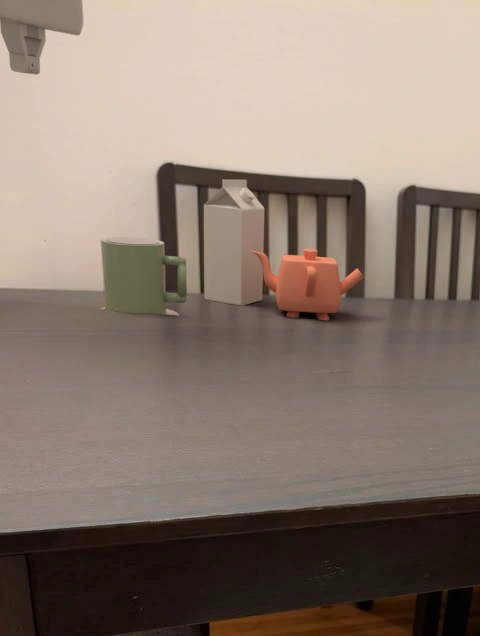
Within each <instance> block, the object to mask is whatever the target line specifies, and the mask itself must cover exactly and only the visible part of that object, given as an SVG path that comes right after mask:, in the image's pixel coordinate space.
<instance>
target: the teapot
mask: <svg viewBox="0 0 480 636" xmlns="http://www.w3.org/2000/svg"><path fill="white" fill-rule="evenodd" d="M252 252H253V253H254V254H256V255H257V256H258V258H259V259H260V261H261V264H262V268H263V280H264V282H265V285H266V286H267V288H268V289H269V290H270V291H272V292H273V293H274V296H275V300H276V305H277V308H278V309H279V310H281V311H285V312H287V313H286V314H285V316H286V317H287V318H299V316H300V313H315V315H316V319H317V320H319V321H329V320H330V317H329V314H336V313H338V311H339V309H340V306H341V303H342V302H341V301H342V296H343V295H344V294H345V293H347V292H348V291H349V290H350V289H352V288H353V287H354V286H356V285H357V284H358V283H359V282H361V281H362V280H363V279H365V276H364V274H363V273H362V271H360V269H359V267H357V268H356V269H354V270H353V271H352V272H351V273H350V274H348V275H347V276H346V277H345V278H344V279H342V280H341V277H340V271H339V266H338V265H339V264H338V262H337V260H336V259H335V258H334V257H327V256H326V257H324V256H318V250H317V249H313V248H304V249H302V254H303V255H298V254H283V255H282V258H281V260H280V264H279V268H278V273H277V275H275V274H274V273H273V271H272V269H271V264H270V260H269V258H268V255H267V254H265V253H264V252H263V253H261V252H257V251H252Z"/></svg>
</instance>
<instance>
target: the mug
mask: <svg viewBox="0 0 480 636" xmlns="http://www.w3.org/2000/svg"><path fill="white" fill-rule="evenodd" d="M165 251H166V250H165V242H164V241H162V240H159V239H153V238H145V237H133V236H132V237H131V236H128V237H127V236H121V237H120V236H114V237H111V236H110V237H104V238H101V239H100V252H101V264H102V265H101V268H102V282H103V285H102V286H103V298H104V299H103V300H104V306H103V307H100V309H102V310H110V311H113V312H118V313H125V314H127V313H128V314H158V315H159V314H160V315H169V316H180V314H179V312H177V311H175V310H172V309H169V308H167V303H177V304H178V303H180V304H181V303H182V304H185V303H186V302H187V300H188V285H187V284H188V283H187V280H188V278H187V274H188V273H187V259H186V258H185V257H183V256H174V255H165ZM166 266H175V267H176V266H177V293H172V292H167V288H166Z"/></svg>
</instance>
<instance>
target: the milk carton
mask: <svg viewBox="0 0 480 636" xmlns="http://www.w3.org/2000/svg"><path fill="white" fill-rule="evenodd" d="M221 180H222V181H221V183H222V185H221V187H220V189H219V190H218V191H217V192H216V193H215V194H213V195H212V196H211V197H210V198H209V199H208V200H207V201H206V202H205V203H204V204H203V255H204V256H203V258H204V259H203V275H204V276H203V281H204V282H203V283H204V285H203V286H204V288H203V291H204V293H203V294H204V295H203V296H204V297H203V299H204V301H211V302H216V303H222V304H229V305H234V306H245V305H249V304H252V303H257V302H261V301H263V283H264V281H263V280H264V275H263V268H262V264H261V261H260V259H259V258H258V256H257V255H256V254H254V253H253V252H252V251H257V252H261V253H264V243H265V242H264V241H265V207H264V206H263V205H262V203H261V202H260V201H259V200H258V198H257V197H256V196H255V195H254V193H253V192H252V191H251V190H250V189H249V188H248V186H247V183H248V180H247V179H221Z"/></svg>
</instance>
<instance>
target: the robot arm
mask: <svg viewBox="0 0 480 636" xmlns="http://www.w3.org/2000/svg"><path fill="white" fill-rule="evenodd" d="M83 27H84V5H83V0H0V34H1V36H2V39H3V41H4V43H5V44H4V45H5V47H6V49H7V51H8V57H9V68H10V70H11V71H12V72H15V73H20V74H26V75H27V74H28V75H37V76H38V75H39V74H40V72H41V61H40V58H41V56H42V52H43V50H44V47H45V45H46V30H48V31H51V32H57V33H61V34H66V35H72V36H80V35H81V34H82V30H83Z"/></svg>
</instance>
